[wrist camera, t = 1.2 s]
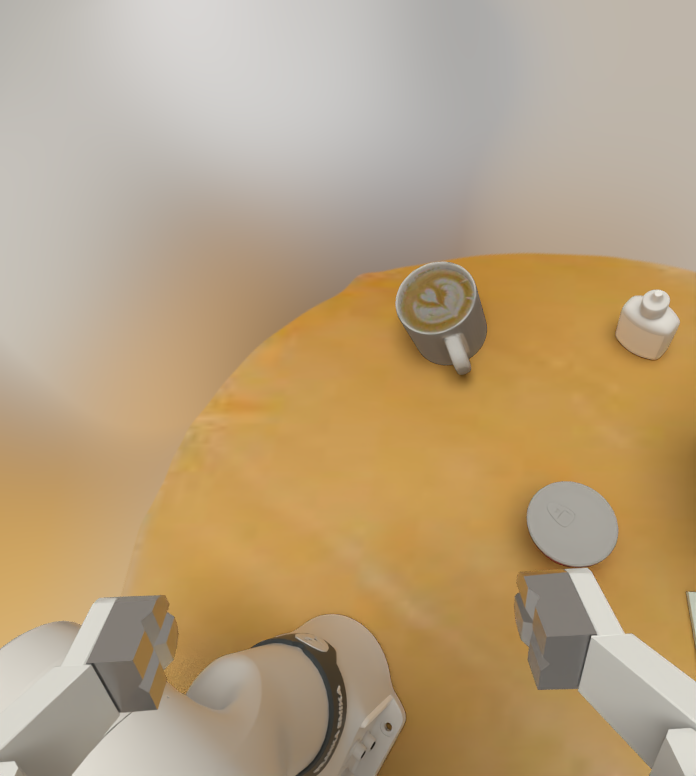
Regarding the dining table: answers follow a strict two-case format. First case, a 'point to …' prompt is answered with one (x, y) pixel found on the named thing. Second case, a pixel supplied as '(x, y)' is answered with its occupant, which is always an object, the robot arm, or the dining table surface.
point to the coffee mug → (443, 314)
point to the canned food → (572, 524)
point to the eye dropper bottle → (647, 324)
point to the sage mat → (692, 611)
